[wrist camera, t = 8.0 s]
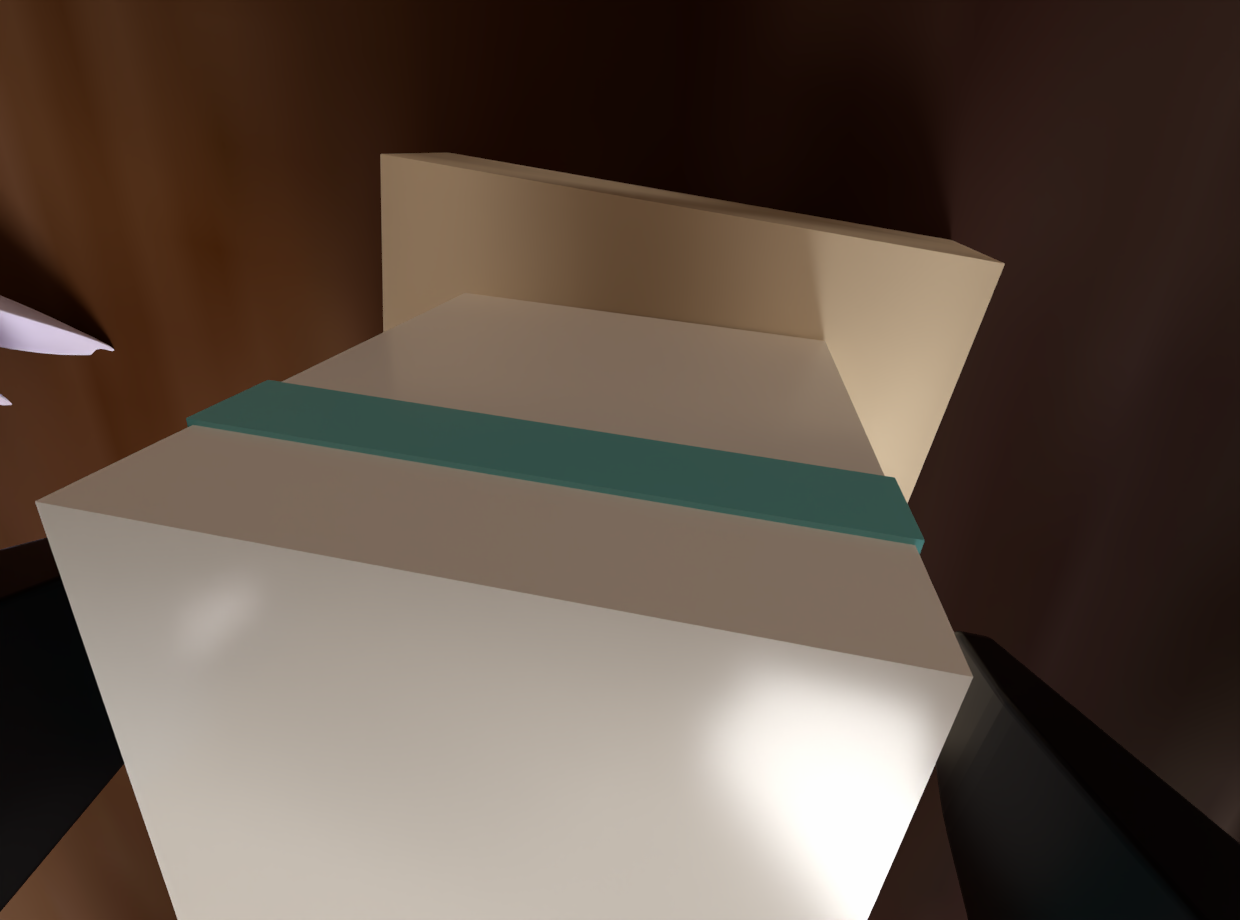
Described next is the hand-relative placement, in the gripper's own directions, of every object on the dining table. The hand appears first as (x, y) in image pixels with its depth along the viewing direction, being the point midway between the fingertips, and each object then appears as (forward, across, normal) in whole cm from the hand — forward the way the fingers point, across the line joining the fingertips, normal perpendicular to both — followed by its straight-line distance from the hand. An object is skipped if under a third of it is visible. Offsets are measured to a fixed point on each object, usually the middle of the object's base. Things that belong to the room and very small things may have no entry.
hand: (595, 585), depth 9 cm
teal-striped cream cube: (+3, 0, 0) cm, 3 cm away
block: (+6, 0, 0) cm, 6 cm away
